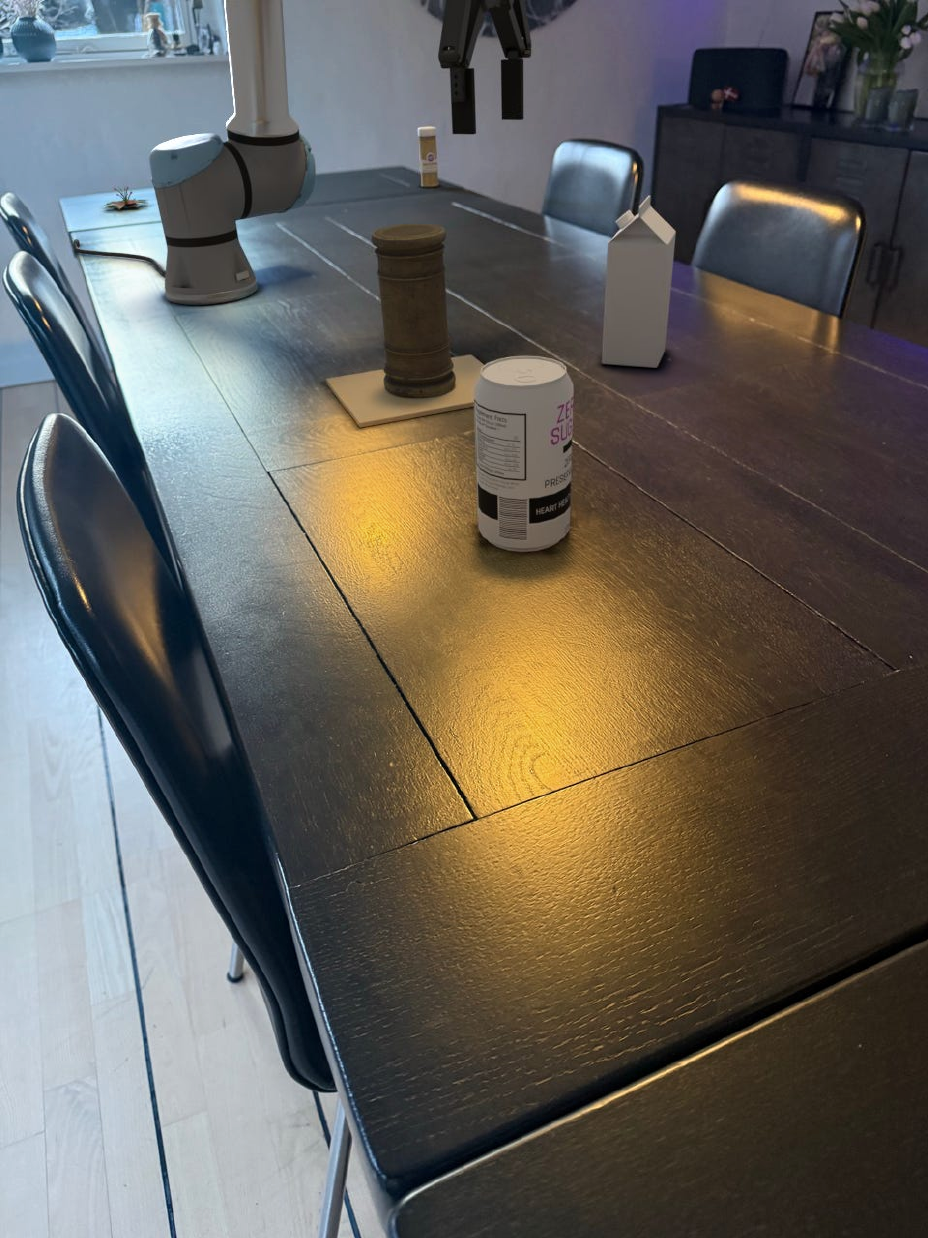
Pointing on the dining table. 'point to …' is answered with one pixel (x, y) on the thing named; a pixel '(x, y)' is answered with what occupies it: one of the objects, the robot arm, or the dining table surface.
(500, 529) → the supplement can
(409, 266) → the container
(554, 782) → the dining table surface
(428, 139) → the sprinkles bottle
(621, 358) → the milk carton
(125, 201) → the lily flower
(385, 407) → the mat
